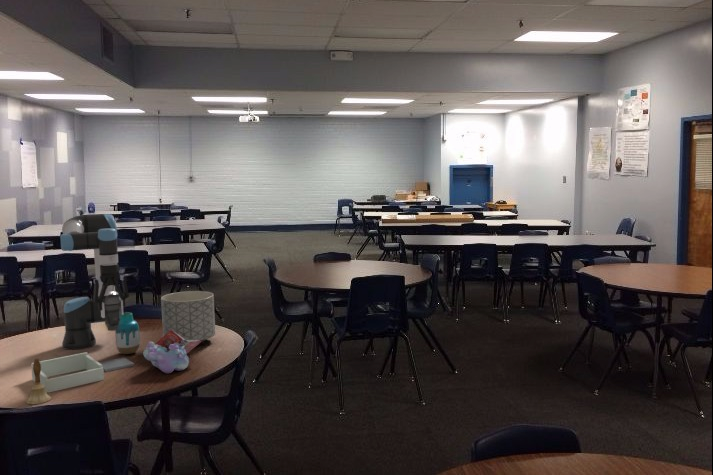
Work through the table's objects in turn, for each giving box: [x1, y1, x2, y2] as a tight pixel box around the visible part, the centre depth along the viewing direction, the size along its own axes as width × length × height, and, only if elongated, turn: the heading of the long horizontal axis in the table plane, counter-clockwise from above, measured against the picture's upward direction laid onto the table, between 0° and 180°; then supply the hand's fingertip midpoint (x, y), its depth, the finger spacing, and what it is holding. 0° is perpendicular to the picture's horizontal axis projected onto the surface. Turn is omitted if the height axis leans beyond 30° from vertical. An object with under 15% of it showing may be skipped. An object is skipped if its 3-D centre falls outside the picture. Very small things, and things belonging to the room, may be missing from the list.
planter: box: [160, 290, 216, 345], centre depth 297 cm, size 25×25×24 cm
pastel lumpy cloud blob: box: [142, 330, 203, 375], centre depth 260 cm, size 20×22×18 cm
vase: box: [114, 312, 141, 355], centre depth 282 cm, size 11×11×19 cm
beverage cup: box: [103, 285, 121, 332], centre depth 262 cm, size 7×7×20 cm
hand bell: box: [25, 358, 52, 405], centre depth 224 cm, size 8×8×16 cm
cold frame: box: [30, 351, 105, 394], centre depth 247 cm, size 21×22×7 cm
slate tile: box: [99, 357, 135, 372], centre depth 265 cm, size 12×12×1 cm
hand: (112, 315), depth 263 cm, fingers closed on beverage cup, 7 cm apart
